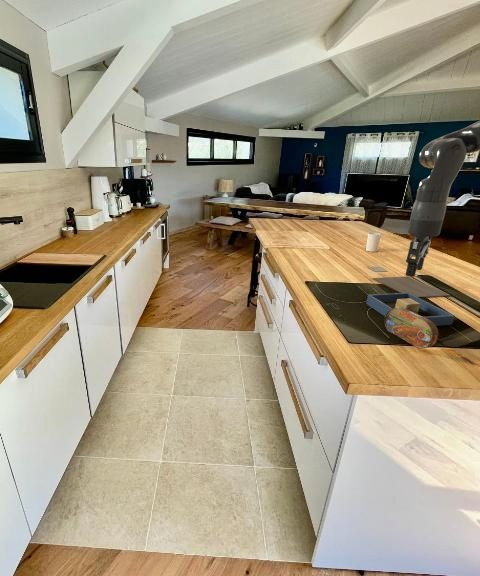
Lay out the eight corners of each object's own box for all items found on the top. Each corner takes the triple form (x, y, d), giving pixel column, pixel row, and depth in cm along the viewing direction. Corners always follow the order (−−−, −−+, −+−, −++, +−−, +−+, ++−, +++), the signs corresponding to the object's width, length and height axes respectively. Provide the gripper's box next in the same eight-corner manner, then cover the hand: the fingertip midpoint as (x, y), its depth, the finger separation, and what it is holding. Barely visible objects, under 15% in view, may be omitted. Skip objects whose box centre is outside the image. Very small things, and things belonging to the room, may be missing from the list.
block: (406, 310, 106) (410, 298, 104) (417, 316, 102) (420, 303, 100) (394, 311, 106) (397, 298, 104) (403, 317, 101) (407, 304, 100)
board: (406, 279, 137) (407, 276, 136) (449, 298, 116) (450, 295, 116) (372, 281, 135) (372, 278, 135) (409, 301, 115) (410, 297, 114)
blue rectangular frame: (405, 302, 113) (408, 292, 112) (451, 327, 95) (454, 315, 94) (365, 304, 112) (367, 294, 111) (404, 330, 94) (407, 318, 93)
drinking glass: (377, 252, 180) (381, 235, 176) (364, 251, 183) (367, 234, 179) (378, 249, 185) (381, 233, 182) (365, 248, 188) (368, 232, 185)
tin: (381, 328, 96) (386, 303, 93) (390, 327, 96) (395, 302, 93) (426, 355, 82) (434, 326, 79) (435, 353, 83) (444, 325, 80)
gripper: (438, 222, 80) (423, 281, 86) (448, 215, 89) (434, 269, 95) (404, 219, 85) (392, 275, 91) (417, 213, 94) (405, 265, 100)
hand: (413, 272), depth 93 cm, fingers open, 8 cm apart
